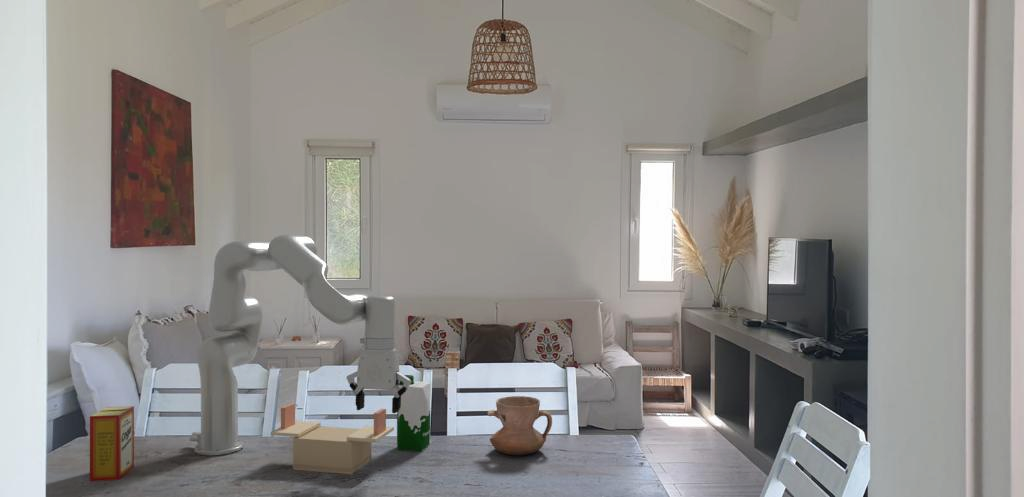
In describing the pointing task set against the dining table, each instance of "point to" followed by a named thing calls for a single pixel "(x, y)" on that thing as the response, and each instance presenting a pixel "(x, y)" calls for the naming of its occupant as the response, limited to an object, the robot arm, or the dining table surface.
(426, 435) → the soya milk
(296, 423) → the flap
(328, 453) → the carton
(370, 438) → the flap
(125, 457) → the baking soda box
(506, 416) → the ceramic jug
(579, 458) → the dining table surface
